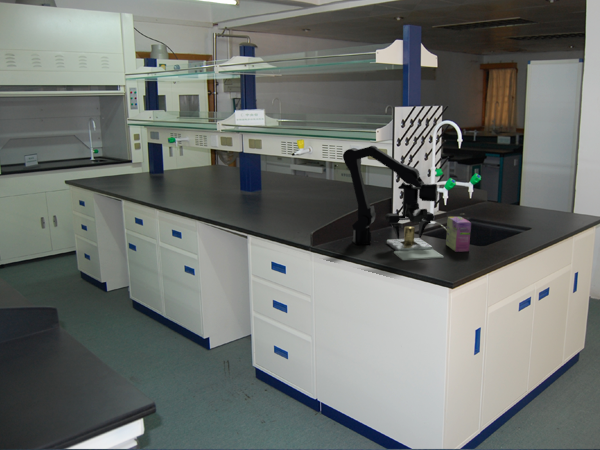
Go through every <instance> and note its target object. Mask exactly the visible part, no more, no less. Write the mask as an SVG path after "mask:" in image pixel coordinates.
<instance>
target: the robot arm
mask: <svg viewBox="0 0 600 450" xmlns="http://www.w3.org/2000/svg"><path fill="white" fill-rule="evenodd" d="M367 157H371V158H373V160H375V161H377V162H378V163H381V164H382V165H383V166H385V167H386V168H387V169H390V170H391V171H393V172H394V173H395V174H396V175H397V176H398V177H399V179H401V180H402V183H401V184H400V186H398V190H403V191H402V194H403V195H402V201H401V205H402V211H401V215H400V214H399V215H398V214H397V213H395V212H394V213H386V214H385V217H384V219H385V221H386V222H387V223H389V224H390V225H391V226H392V228H393V230H394V234H395V236H396V239H400V224H401V223H400V221H408V220H409V222H410V223H415V222H416V223H418V238H420V239H421V238H422V237H423V233H424V231H425V230H426V227H427V226H428V224H431V223H432V222H434V221H435V215H434V213H432V212H430V211H428V209H427V208H422V209H420V204H419V201H418V199H420V200H421V201H423V202H438V197H439V192H438V184H437V183H431V184H429V183H425V182H424V181H423V179H422V178H421V176H420V175H421V174H420V172H419V170H418V168H415V167H413V166H410V165H408V164H404V163H401V162H400V161H399V160H397V159H395V158H393V157H392V156H391V155H389V154H387V153H386V152H384V151H383V150H381V149H380V148H378V147H377V146H376V145H370V146H368V147H363V148H359V149H358V148H355V147H353V148H352V147H351V148H349V149H345V150H344V153H343V154H342V159H343V162H344V164H345V166H346V168H347V169H348V171H349V172H350V177H351V180H352V186H353V189H354V190H353V191H354V193H355V194H354V195H355V198H356V203H357V213H356V214H357V220H356V221H355V222H354V223H353V224H352V225H351V226H352V229H353V237H352V238H353V239H352V243H354V244H355V245H371V244H372V242H371V241H372V232H371V228H370V226H371V224H372V223H374V221H375V220H376V216H377V213H376V212H375V206H374V205H371V204H370V203H369V200H368V196H367V191H366V186H365V183H364V178H363V174H362V169H361V168H362V159H363V158H367Z"/></svg>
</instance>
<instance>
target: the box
mask: <svg viewBox="0 0 600 450" xmlns="http://www.w3.org/2000/svg"><path fill="white" fill-rule="evenodd" d="M471 229H472V222H470V221H469V220H468V219H466V218H464V217H462V216H447V224H446V239H445V244H446V246H447V247H449V248H450V249H451V250H452V251H454V252H456V253H457V252H458V253H462V252H465V253H466V252H469V251H470V241H471V239H470V238H471Z"/></svg>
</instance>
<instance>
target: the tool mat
mask: <svg viewBox="0 0 600 450" xmlns="http://www.w3.org/2000/svg"><path fill="white" fill-rule="evenodd" d="M393 254H395V255H396V256H397V257H398V258H399V259H401V260H402V261H413V260H428V259H429V260H431V259H444V255H443V254H441V253H439V252H438V251H437V250H435V249H434V248H432V249H427V250H411V251H396V250H395V251H393Z"/></svg>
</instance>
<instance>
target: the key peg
mask: <svg viewBox="0 0 600 450" xmlns="http://www.w3.org/2000/svg"><path fill="white" fill-rule="evenodd" d="M415 228H416V227H414V226H410V225H409V226H404V229H403V230H404V232H403V236H404V237H403V239H404V245H414V238H415V234H416V233H415V231H416V229H415Z"/></svg>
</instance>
